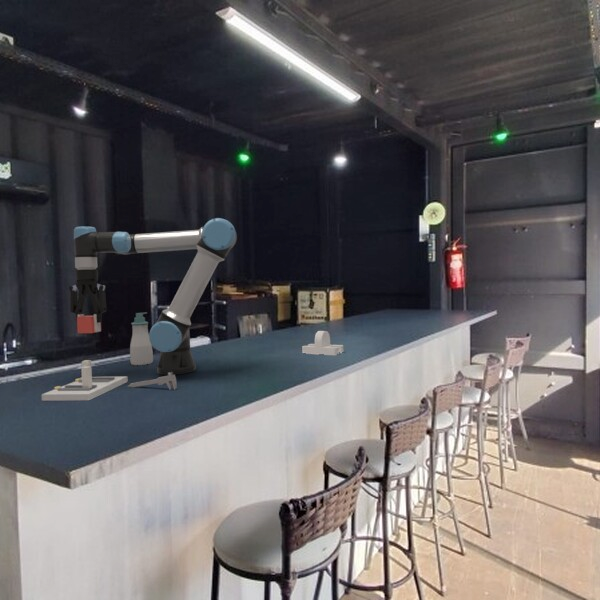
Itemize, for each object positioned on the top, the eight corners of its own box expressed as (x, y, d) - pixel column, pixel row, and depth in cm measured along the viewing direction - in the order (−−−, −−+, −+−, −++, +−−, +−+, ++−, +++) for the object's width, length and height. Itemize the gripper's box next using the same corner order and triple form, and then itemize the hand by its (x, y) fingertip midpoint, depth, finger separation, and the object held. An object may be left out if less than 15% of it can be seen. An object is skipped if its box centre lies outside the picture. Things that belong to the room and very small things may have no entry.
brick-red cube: (101, 331, 178) (100, 315, 177) (92, 333, 172) (91, 316, 172) (87, 331, 178) (86, 315, 178) (77, 333, 173) (76, 316, 172)
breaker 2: (92, 387, 157) (91, 366, 157) (88, 388, 155) (87, 367, 155) (86, 387, 158) (84, 366, 157) (82, 388, 155) (81, 367, 155)
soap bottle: (158, 362, 213) (155, 312, 212) (140, 366, 205) (137, 314, 204) (143, 361, 219) (141, 312, 217) (125, 364, 210) (122, 314, 209)
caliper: (177, 390, 160) (176, 371, 160) (175, 390, 159) (174, 372, 159) (129, 386, 168) (128, 369, 167) (127, 387, 167) (126, 369, 166)
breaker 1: (92, 379, 170) (90, 360, 170) (88, 380, 168) (87, 361, 168) (86, 379, 170) (85, 360, 170) (82, 380, 168) (81, 361, 168)
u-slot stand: (335, 356, 216) (335, 332, 216) (301, 354, 225) (300, 331, 224) (344, 352, 225) (343, 330, 224) (310, 350, 233) (310, 329, 233)
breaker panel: (127, 381, 175) (127, 374, 175) (89, 400, 149) (88, 391, 149) (86, 382, 177) (86, 374, 177) (41, 400, 151) (41, 392, 151)
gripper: (115, 268, 176) (118, 330, 177) (70, 269, 179) (73, 330, 180) (104, 268, 169) (107, 332, 170) (56, 269, 172) (60, 332, 173)
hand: (89, 331), depth 175 cm, fingers closed on brick-red cube, 6 cm apart
